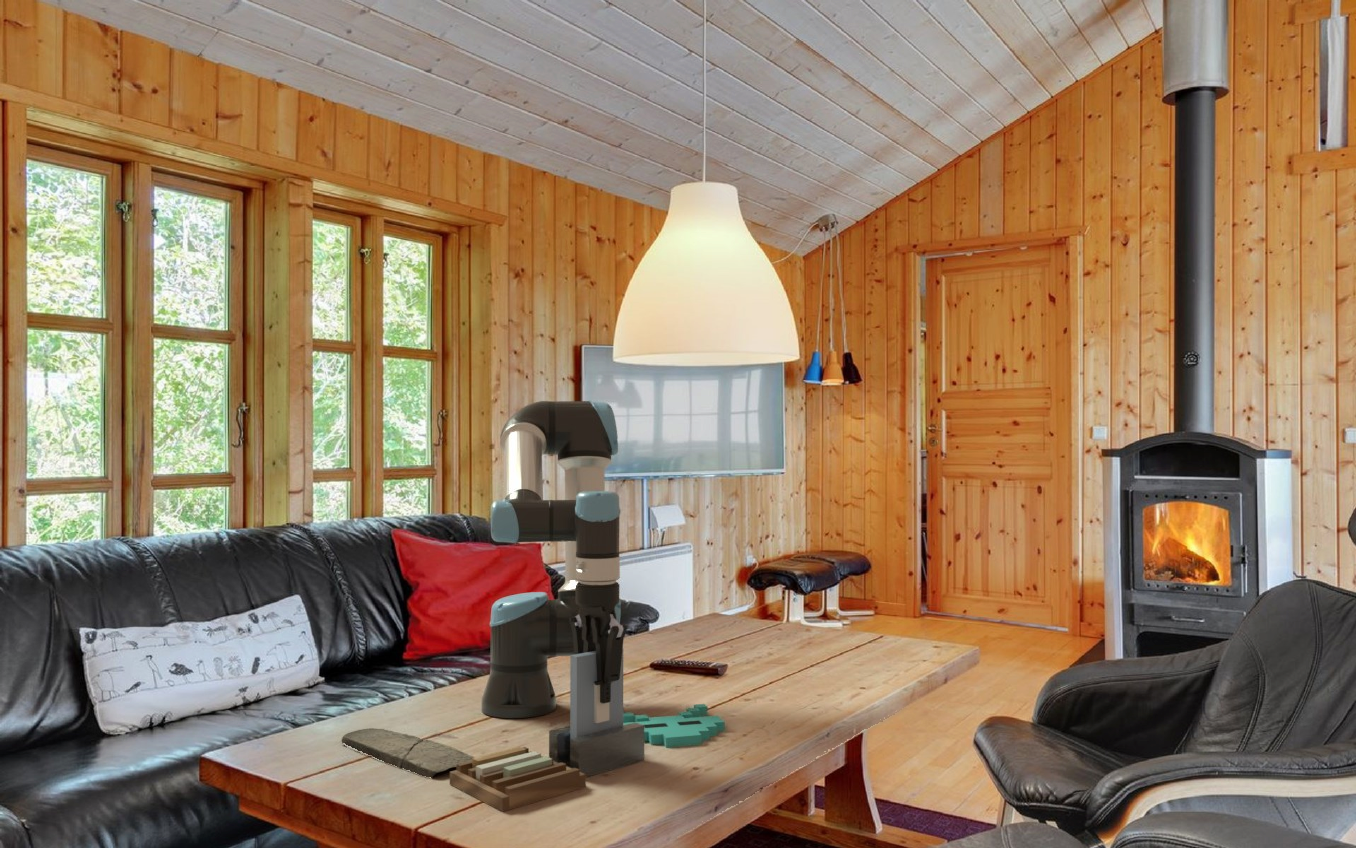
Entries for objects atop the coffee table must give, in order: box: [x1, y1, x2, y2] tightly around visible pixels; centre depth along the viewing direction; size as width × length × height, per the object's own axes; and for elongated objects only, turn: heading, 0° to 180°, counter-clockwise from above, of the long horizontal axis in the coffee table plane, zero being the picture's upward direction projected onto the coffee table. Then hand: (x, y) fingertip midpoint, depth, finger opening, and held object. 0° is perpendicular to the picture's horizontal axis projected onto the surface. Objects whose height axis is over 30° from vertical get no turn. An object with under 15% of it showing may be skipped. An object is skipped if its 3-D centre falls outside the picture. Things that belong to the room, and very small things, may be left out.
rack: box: [449, 746, 587, 812], centre depth 154 cm, size 16×15×3 cm
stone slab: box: [341, 727, 476, 779], centre depth 170 cm, size 10×3×30 cm
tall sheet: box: [569, 648, 624, 739], centre depth 165 cm, size 2×10×17 cm, turn 133°
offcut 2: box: [476, 750, 542, 781], centre depth 155 cm, size 2×11×4 cm, turn 133°
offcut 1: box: [472, 746, 526, 768], centre depth 158 cm, size 2×9×4 cm, turn 132°
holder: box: [548, 722, 645, 778], centre depth 165 cm, size 8×14×6 cm, turn 132°
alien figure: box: [623, 703, 726, 748], centre depth 184 cm, size 20×2×20 cm
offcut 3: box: [503, 756, 552, 778], centre depth 153 cm, size 2×8×4 cm, turn 133°
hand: (597, 719), depth 165 cm, fingers closed on tall sheet, 2 cm apart
